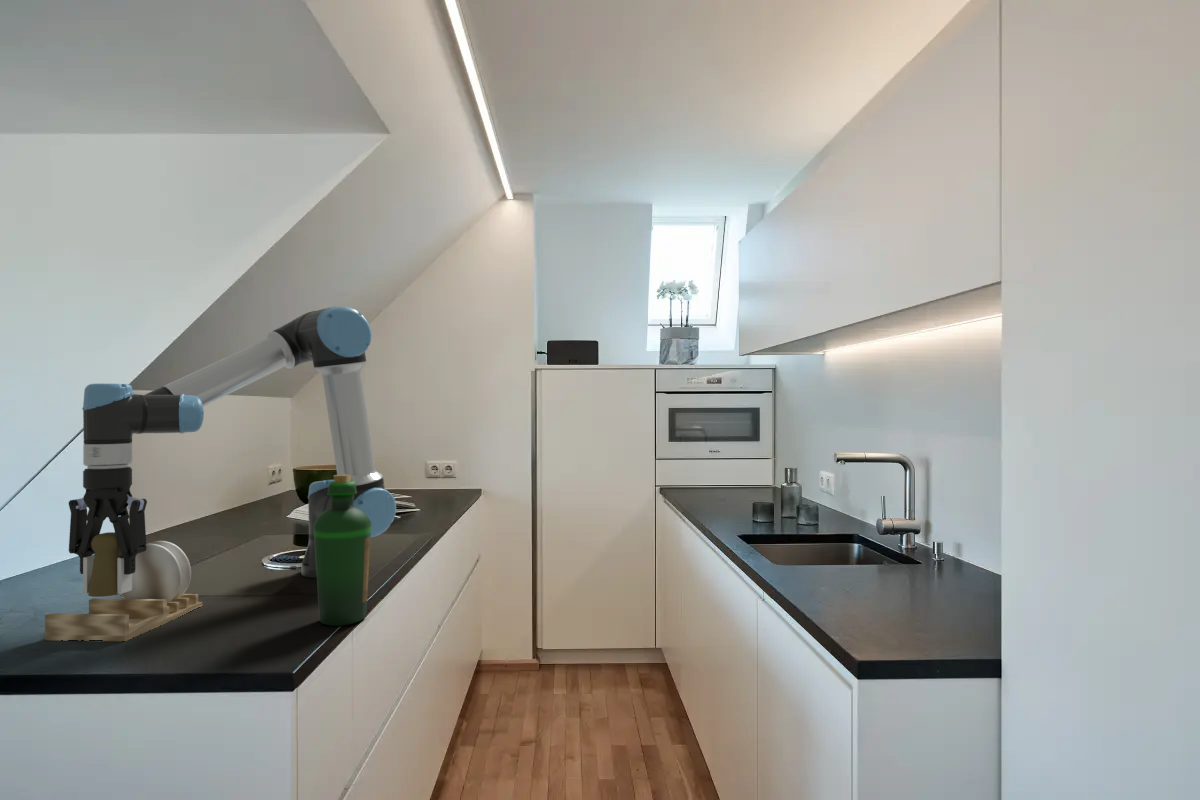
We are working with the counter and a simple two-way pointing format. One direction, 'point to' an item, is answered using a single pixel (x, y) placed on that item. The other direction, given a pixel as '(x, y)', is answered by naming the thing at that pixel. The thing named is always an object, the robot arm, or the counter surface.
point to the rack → (134, 601)
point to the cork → (104, 565)
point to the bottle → (342, 556)
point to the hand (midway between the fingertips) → (107, 591)
